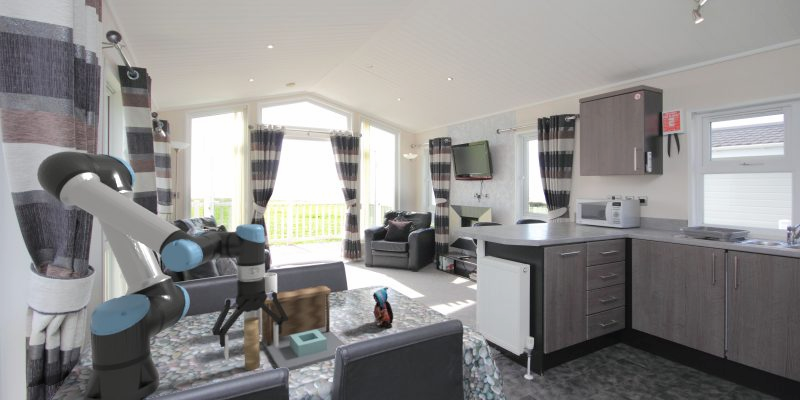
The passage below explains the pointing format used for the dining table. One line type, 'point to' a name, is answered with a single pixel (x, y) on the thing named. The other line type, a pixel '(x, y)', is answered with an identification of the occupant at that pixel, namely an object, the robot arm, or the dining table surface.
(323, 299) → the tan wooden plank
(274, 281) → the vase
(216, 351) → the dining table surface
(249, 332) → the oak peg
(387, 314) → the figurine
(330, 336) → the socket board
